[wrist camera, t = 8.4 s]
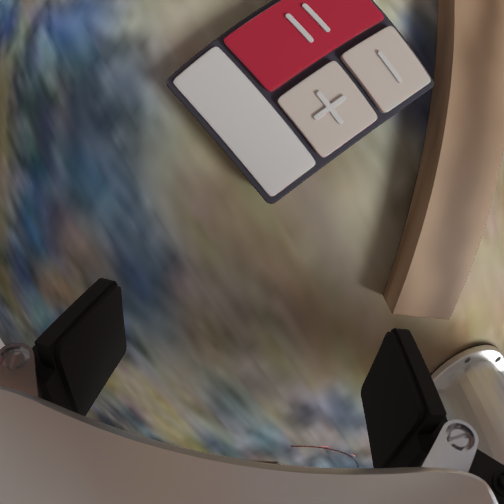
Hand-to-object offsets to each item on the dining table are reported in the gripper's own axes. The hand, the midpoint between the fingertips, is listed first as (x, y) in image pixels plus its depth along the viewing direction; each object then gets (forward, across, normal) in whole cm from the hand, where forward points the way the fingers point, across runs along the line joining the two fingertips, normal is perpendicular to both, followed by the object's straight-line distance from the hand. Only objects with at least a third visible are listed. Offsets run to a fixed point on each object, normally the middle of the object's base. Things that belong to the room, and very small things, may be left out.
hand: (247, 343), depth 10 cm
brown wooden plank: (+16, -14, -11) cm, 23 cm away
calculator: (+16, -1, -11) cm, 19 cm away
